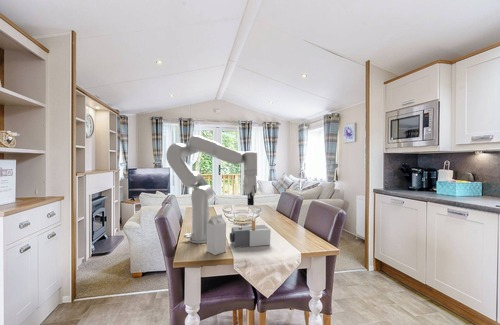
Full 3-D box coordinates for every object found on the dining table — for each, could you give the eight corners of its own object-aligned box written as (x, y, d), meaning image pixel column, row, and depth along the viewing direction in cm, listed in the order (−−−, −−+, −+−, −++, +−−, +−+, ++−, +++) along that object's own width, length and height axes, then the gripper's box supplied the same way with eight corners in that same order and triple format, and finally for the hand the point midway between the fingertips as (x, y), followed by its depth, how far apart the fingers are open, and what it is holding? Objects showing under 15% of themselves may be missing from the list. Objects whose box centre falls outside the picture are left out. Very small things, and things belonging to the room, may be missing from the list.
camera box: (232, 247, 144) (232, 229, 144) (228, 243, 152) (228, 226, 152) (269, 244, 151) (269, 227, 151) (263, 239, 159) (264, 223, 159)
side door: (250, 246, 146) (250, 220, 145) (249, 245, 148) (249, 220, 147) (270, 244, 150) (270, 219, 149) (269, 243, 151) (269, 218, 151)
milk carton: (206, 251, 139) (206, 215, 138) (217, 248, 144) (217, 213, 143) (214, 255, 133) (215, 217, 133) (225, 251, 138) (226, 215, 138)
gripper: (240, 172, 158) (240, 203, 158) (248, 174, 144) (248, 208, 144) (252, 172, 160) (252, 202, 161) (261, 173, 146) (261, 207, 147)
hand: (250, 205), depth 153 cm, fingers closed
